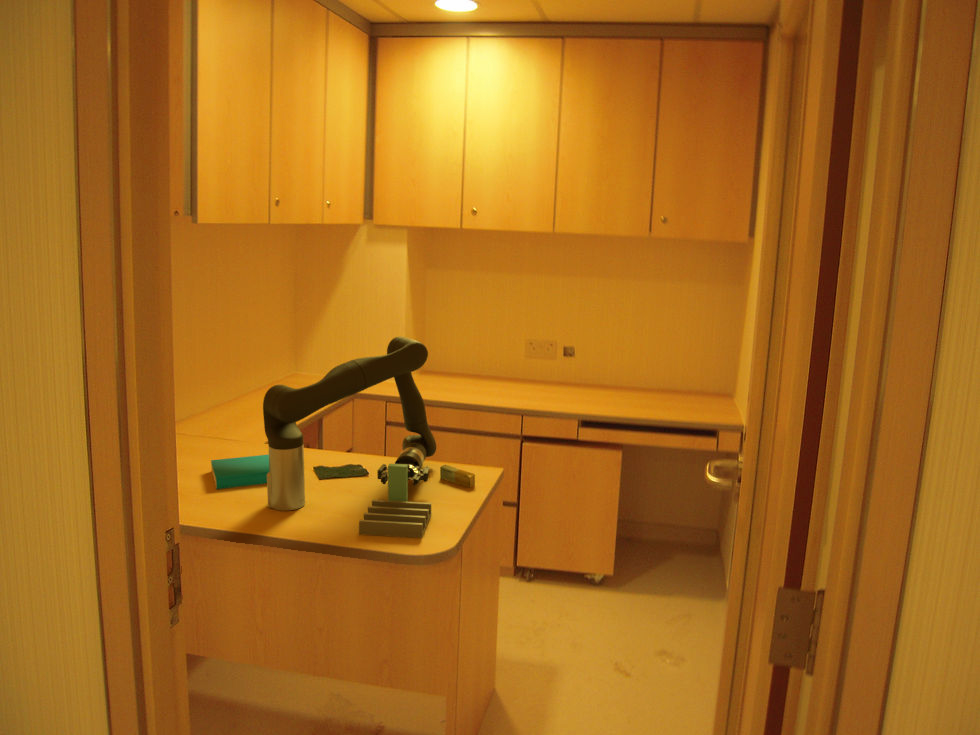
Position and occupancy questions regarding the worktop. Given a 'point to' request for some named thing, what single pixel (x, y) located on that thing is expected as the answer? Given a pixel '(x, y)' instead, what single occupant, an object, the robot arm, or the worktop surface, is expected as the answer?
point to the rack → (396, 518)
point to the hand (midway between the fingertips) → (399, 481)
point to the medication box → (457, 476)
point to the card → (398, 482)
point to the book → (240, 471)
